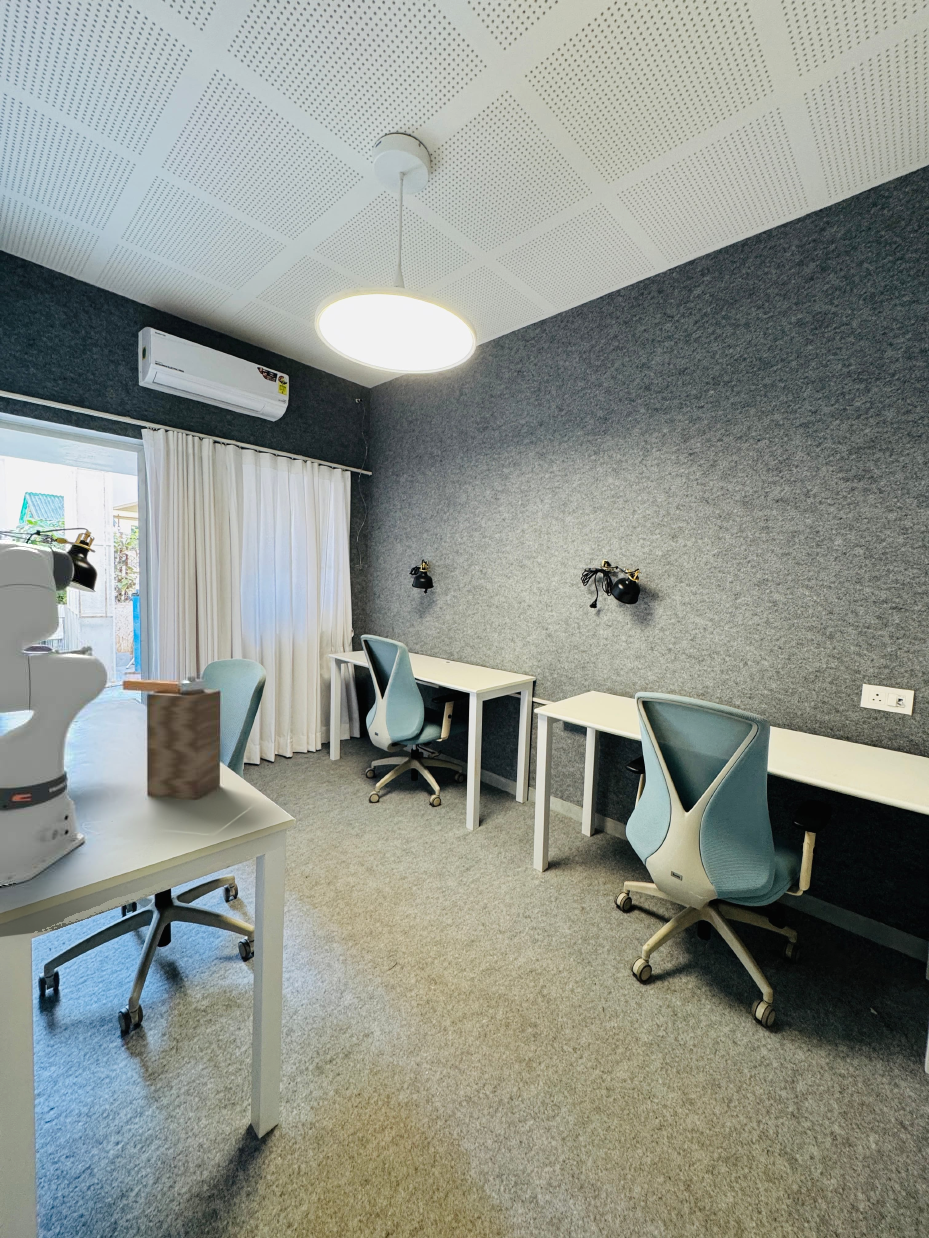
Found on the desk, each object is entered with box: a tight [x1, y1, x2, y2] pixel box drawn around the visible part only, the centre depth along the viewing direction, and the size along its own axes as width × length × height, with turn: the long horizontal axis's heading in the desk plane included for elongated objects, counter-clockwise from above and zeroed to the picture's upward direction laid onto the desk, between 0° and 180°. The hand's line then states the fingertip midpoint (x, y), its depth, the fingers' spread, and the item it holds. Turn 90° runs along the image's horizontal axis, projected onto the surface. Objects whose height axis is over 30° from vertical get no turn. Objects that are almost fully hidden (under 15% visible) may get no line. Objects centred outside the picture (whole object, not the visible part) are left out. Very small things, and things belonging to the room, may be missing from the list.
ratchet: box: [122, 675, 206, 695], centre depth 129 cm, size 22×6×4 cm, turn 82°
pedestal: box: [146, 689, 221, 800], centre depth 129 cm, size 14×9×26 cm, turn 82°
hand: (73, 650), depth 132 cm, fingers open, 8 cm apart
